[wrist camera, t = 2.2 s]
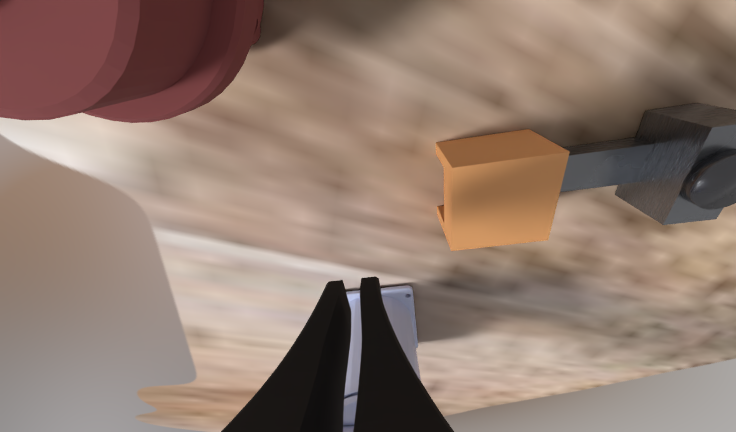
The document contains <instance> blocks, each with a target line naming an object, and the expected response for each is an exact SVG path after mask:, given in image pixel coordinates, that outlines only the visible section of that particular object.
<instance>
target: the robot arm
mask: <svg viewBox="0 0 736 432" xmlns="http://www.w3.org/2000/svg"><path fill="white" fill-rule="evenodd" d="M407 294H408V295H407ZM417 347H418V340H417V330H416V319H415V309H414V298H413V289H412V287H411V286H397V287H387V288H380V283H379V278H377V277H368V278H362V279H361V286H360V290H358V291H348V292H346V290H345V287H344V283H343V280H340V281H330V282H328V283H327V285H326V287H325V289H324V291H323V293H322V295H321V297H320V299H319V301H318V303H317V305H316V307H315V309H314V311H313V312H312V314H311V316H310V318H309V320H308V321H307V323H306V325H305V327H304V328H303V330H302V331H301V333H300V335H299V336H298V338H297V339H296V341H295V342H294V344H293V346H292V347H291V349H290V350H289V352H288V353H287V354H286V356H285V357H284V359H283V360H282V361H281V363H280V364H279V366H278V367H277V368H276V370H275V371H274V372H273V373H272V375H271V376H270V377H269V378H268V380H267V381H266V382H265V383H264V385H263V386H262V387H261V388H260V390H259V391H258V392H257V393H256V394H255V395H254V397H253V398H252V399H251V400H250V401H249V402H248V403H247V404H246V406H245V407H244V408H243V409H242V410H241V411H240V412H239V413H238V414H237V415H236V417H235V418H234V419H233V420H232V421H231V422H230V423H229V424H228V425H227V426H226V427H225V428H224V429H223V430H222V431H221V432H454V431H453V430H452V428H451V427H450V425H449V424H448V423H447V421H446V420H445V419H444V417H443V415H442V414H441V412H440V411H439V409H438V408H437V406H436V405H435V403H434V402H433V400H432V399H431V397H430V396H429V394H428V392H427V391H426V389H425V387H424V386H423V384H422V383H421V379H420V373H419V366H418V359H417V352H416V348H417Z"/></svg>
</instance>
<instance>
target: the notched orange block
mask: <svg viewBox="0 0 736 432" xmlns="http://www.w3.org/2000/svg"><path fill="white" fill-rule="evenodd" d="M569 153H570V152H569V151H568V150H566V149H564V148H562V147H560V146H559V145H557V144H555V143H553V142H551V141H549V140H548V139H546V138H544V137H542V136H540V135H539V134H537V133H535V132H533V131H531V130H530V129H525V130H519V131H512V132H505V133H498V134H491V135H484V136H478V137H471V138H464V139H457V140H450V141H443V142H437V143H436V155H437V156H438V158H439V160H440V162H441V163H442V165H443V167H444V205H443V206H437V215H438V218H439V220H440V223H441V225H442V228H443V231H444V233H445V236H446V238H447V241H448V244H449V246H450V249H451V251H455V250H464V249H473V248H482V247H491V246H500V245H509V244H518V243H526V242H535V241H544V240H548V238H549V234H550V230H551V226H552V222H553V218H554V214H555V210H556V206H557V202H558V198H559V194H560V190H561V185H562V181H563V177H564V173H565V169H566V165H567V161H568V157H569Z"/></svg>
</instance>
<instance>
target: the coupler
mask: <svg viewBox="0 0 736 432" xmlns="http://www.w3.org/2000/svg"><path fill="white" fill-rule="evenodd" d="M563 148H564V149H566V150H568V151H569V152H570V153H569V157H568V161H567V165H566V169H565V173H564V177H563V181H562V185H561V190H560V192H564V191H572V190H580V189H588V188H596V187H604V186H611V185H618V187H617V190H616V193H615V195H616V196H618V197H619V198H621V199H623V200H624V201H626V202H627V203H629V204H631V205H632V206H634V207H635V208H637V209H639V210H640V211H642V212H643V213H645V214H647V215H648V216H650V217H651V218H653V219H654V220H656V221H658V222H659V223H661V224H662V225H667V224H676V223H685V222H694V221H702V220H711V219H717V217H718V215H719V214H720V212H721V211H722V209H723V208H724V207H727V206H730V205H732V204H734V203H736V110H732V109H727V108H722V107H717V106H711V105H706V104H701V103H694V104H687V105H680V106H674V107H667V108H660V109H653V110H646V111H645V113H644V116H643V119H642V122H641V124H640V127H639V130H638V133H637V135H636V137H635V138H628V139H620V140H613V141H606V142H599V143H592V144H585V145H577V146H570V147H563Z"/></svg>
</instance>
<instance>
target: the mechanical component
mask: <svg viewBox="0 0 736 432" xmlns="http://www.w3.org/2000/svg"><path fill="white" fill-rule="evenodd" d="M263 7H264V0H0V117H3V118H11V119H19V120H50V119H55V118H60V117H64V116H69V115H73V114H77V113H81V112H83V113H85V114H88V115H91V116H95V117H100V118H104V119H108V120H113V121H122V122H130V123H138V122H154V121H160V120H165V119H170V118H172V117H175V116H178V115H180V114H183V113H186V112H188V111H191V110H194V109H196V108H198V107H200V106H202V105H204V104H206V103H208V102H210V101H211V100H212V99H214V98H215V97H217V96H218V95H219V94H221V93H222V92H223V91H224V90H225V89H226V87H227V86H228V85H229V84H230V83H231V82H232V81H233V80H234V78H235V77H236V75H237V73H238V72H239V70H240V69H241V67H242V65H243V64H244V61H245V59H246V56H247V54H248V52H249V49H250V47H251V45H252V44H255V43H256V42H257V41H258V39H259V37H260V33H261V29H260V22H261V18H262V13H263Z"/></svg>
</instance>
